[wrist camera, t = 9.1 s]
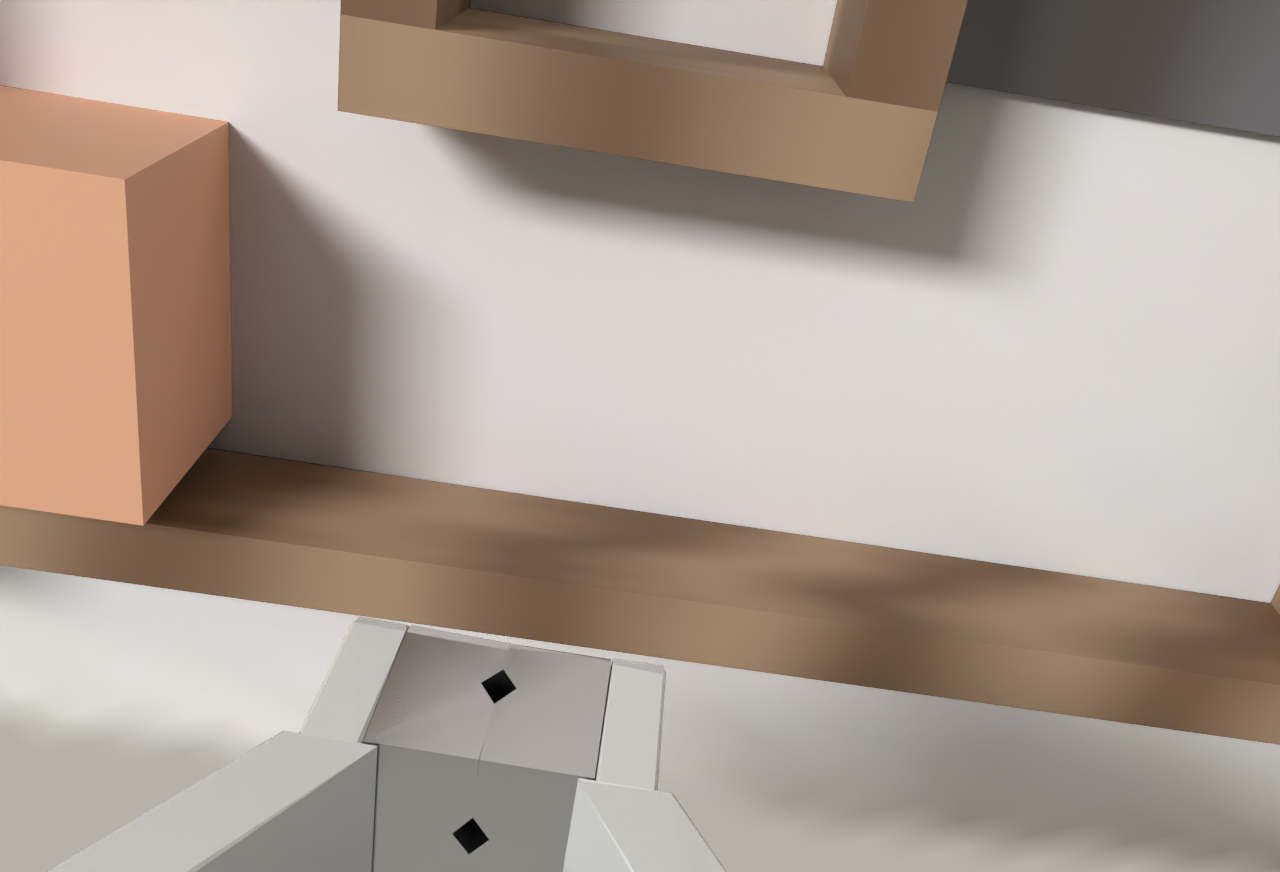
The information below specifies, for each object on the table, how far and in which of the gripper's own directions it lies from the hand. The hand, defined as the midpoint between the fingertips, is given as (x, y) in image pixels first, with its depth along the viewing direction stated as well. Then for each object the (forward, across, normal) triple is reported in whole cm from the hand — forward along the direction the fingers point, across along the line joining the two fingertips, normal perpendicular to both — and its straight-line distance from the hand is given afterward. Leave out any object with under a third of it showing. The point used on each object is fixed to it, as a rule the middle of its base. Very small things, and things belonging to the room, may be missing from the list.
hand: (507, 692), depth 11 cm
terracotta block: (+12, +11, +1) cm, 16 cm away
